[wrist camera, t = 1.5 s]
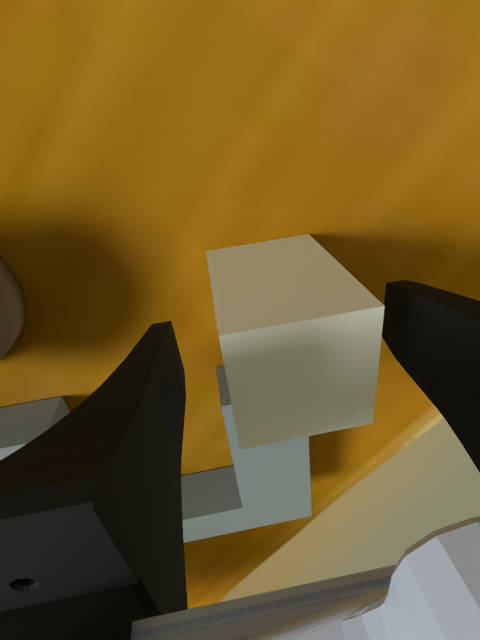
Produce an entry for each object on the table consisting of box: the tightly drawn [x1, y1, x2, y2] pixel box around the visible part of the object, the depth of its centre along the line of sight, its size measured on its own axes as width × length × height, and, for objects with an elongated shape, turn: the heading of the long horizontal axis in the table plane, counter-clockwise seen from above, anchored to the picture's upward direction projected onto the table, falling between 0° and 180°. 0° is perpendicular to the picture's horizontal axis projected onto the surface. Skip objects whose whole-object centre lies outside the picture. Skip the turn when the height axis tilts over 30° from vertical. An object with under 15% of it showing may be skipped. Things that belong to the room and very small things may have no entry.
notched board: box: [0, 366, 312, 543], centre depth 17 cm, size 14×9×2 cm, turn 97°
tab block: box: [206, 234, 385, 450], centre depth 12 cm, size 4×4×6 cm
